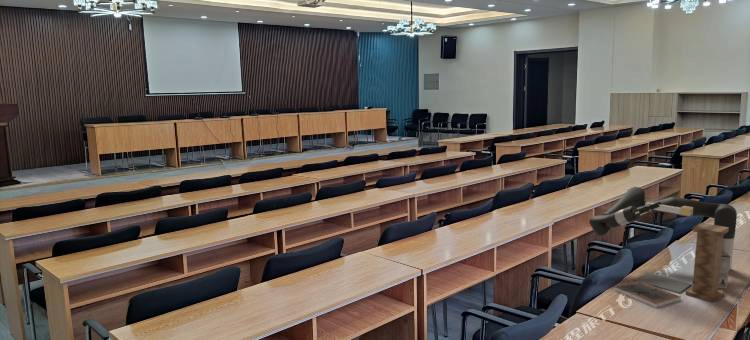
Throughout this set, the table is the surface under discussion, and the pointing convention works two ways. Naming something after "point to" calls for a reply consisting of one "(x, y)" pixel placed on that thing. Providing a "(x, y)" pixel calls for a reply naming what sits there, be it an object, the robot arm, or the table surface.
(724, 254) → the coffee box
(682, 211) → the steel bar
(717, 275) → the walnut stand
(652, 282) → the rubber mat
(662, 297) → the picture frame
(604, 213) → the robot arm
